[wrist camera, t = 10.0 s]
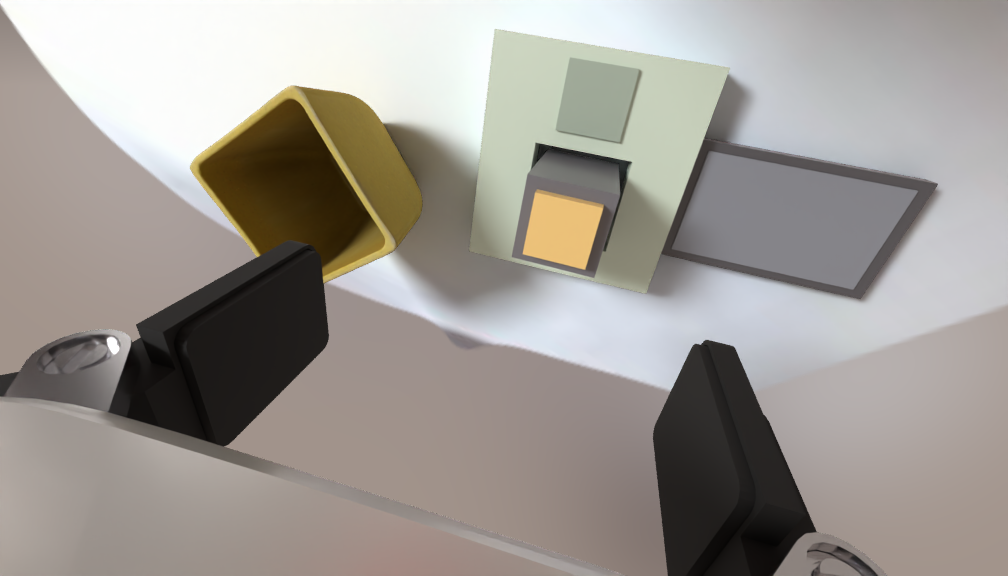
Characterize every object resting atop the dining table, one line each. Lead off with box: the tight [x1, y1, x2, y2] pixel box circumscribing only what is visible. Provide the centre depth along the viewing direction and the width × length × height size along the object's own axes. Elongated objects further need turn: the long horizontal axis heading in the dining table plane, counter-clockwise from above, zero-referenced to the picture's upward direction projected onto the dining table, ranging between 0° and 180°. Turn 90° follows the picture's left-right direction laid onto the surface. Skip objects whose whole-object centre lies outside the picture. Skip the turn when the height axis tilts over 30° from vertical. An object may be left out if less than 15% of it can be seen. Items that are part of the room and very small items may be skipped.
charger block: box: [512, 149, 620, 278], centre depth 23 cm, size 4×4×8 cm
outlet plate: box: [469, 29, 730, 294], centre depth 25 cm, size 13×12×2 cm
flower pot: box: [190, 86, 422, 283], centre depth 25 cm, size 9×9×9 cm
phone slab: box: [661, 138, 938, 299], centre depth 24 cm, size 7×12×1 cm, turn 81°
